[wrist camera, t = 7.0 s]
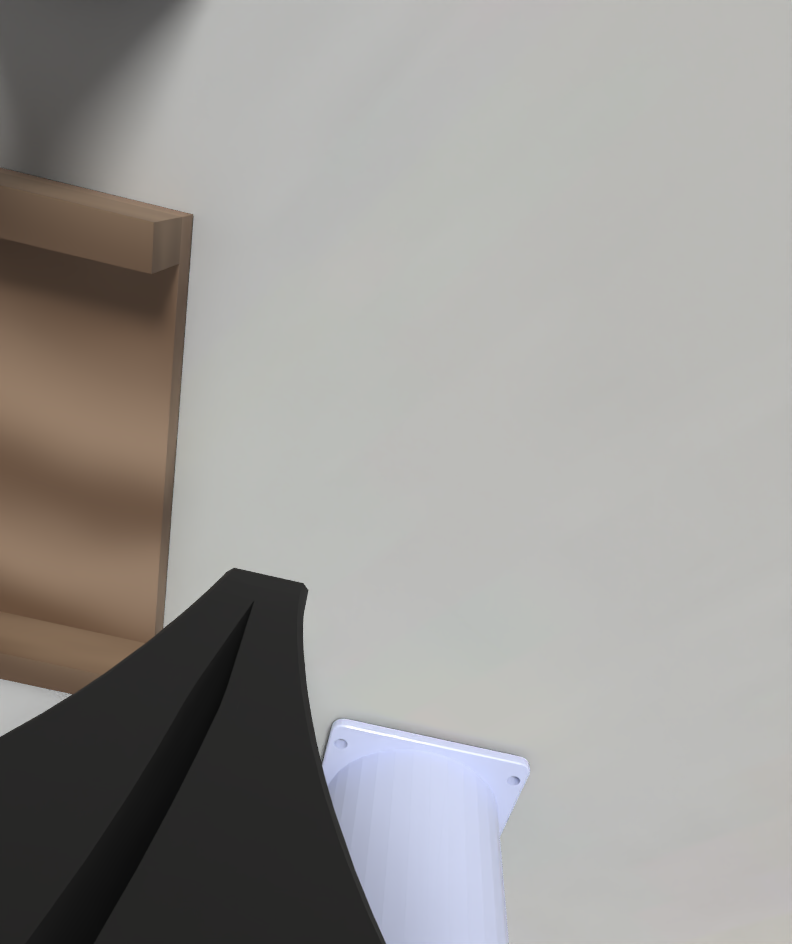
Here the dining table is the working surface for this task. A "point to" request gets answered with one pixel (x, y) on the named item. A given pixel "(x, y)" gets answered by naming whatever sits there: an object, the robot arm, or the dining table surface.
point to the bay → (85, 424)
